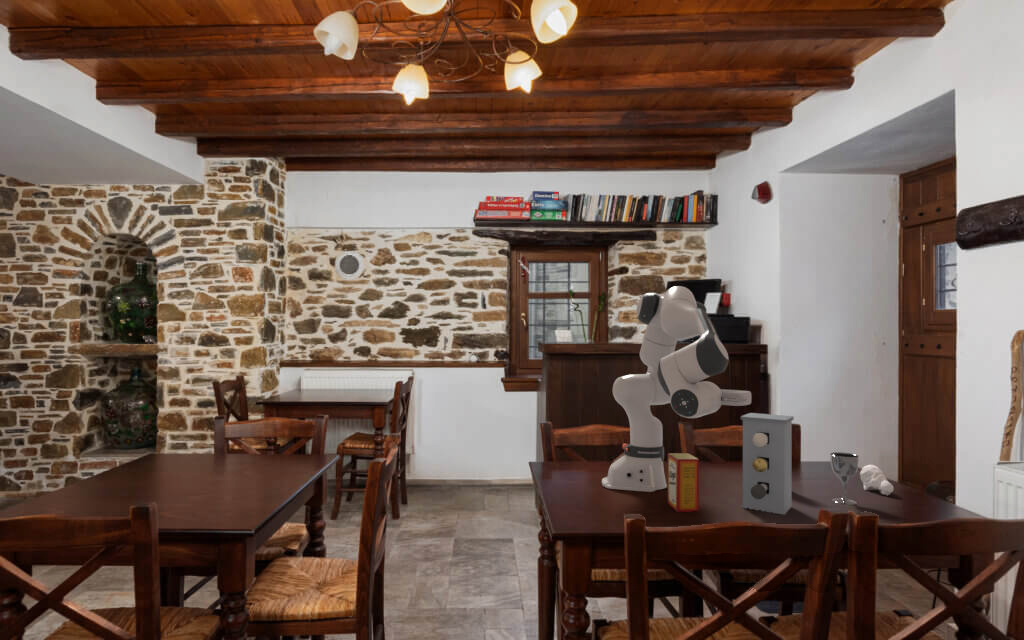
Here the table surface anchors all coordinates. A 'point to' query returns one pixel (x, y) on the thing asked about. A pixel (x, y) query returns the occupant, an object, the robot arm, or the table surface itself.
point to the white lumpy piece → (875, 479)
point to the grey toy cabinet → (779, 462)
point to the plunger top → (760, 439)
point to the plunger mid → (761, 464)
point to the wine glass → (844, 472)
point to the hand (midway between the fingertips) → (720, 394)
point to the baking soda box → (683, 482)
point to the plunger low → (759, 490)
